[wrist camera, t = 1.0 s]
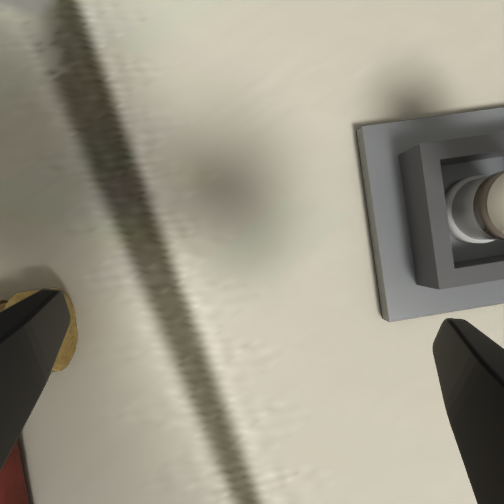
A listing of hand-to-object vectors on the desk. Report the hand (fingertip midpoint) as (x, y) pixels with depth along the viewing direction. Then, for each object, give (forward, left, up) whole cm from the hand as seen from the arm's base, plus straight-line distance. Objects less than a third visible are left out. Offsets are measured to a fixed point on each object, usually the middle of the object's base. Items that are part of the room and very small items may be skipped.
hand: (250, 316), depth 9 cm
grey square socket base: (+2, -15, -14) cm, 21 cm away
